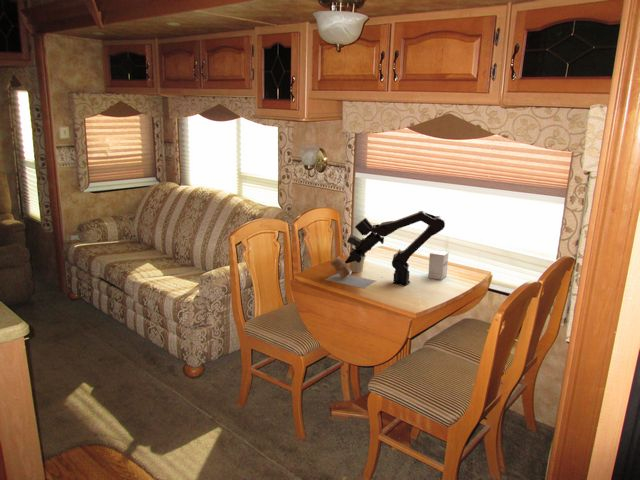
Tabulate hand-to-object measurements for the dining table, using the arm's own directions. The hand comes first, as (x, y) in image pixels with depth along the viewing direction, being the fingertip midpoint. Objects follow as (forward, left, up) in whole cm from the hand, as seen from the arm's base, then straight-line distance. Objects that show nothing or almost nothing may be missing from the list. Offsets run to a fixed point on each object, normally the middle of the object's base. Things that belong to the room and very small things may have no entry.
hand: (345, 262), depth 252 cm
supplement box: (-37, -29, -9) cm, 47 cm away
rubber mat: (-4, +1, -8) cm, 9 cm away
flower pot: (+1, -14, -9) cm, 16 cm away
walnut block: (-1, 0, -6) cm, 7 cm away
